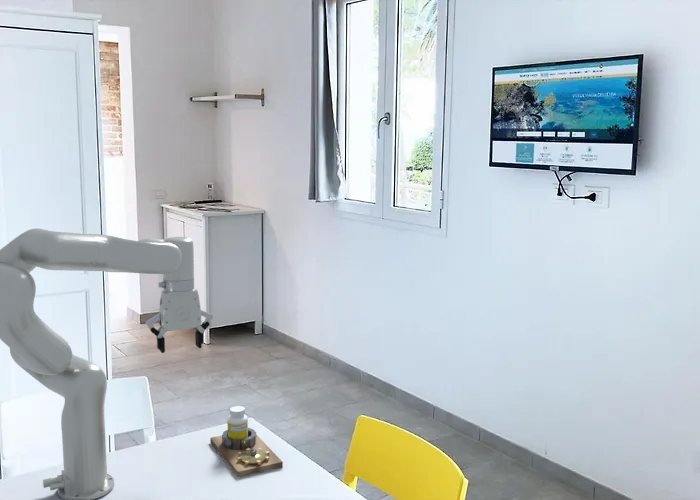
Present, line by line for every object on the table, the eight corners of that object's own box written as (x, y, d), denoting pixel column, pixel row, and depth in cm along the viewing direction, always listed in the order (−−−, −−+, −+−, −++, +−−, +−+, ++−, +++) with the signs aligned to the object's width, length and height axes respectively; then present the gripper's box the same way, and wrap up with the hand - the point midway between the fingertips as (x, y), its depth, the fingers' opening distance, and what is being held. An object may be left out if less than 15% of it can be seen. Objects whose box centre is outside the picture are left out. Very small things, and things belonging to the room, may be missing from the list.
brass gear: (243, 468, 177) (243, 461, 177) (232, 455, 184) (232, 447, 184) (274, 461, 181) (274, 454, 181) (262, 448, 188) (262, 441, 188)
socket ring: (229, 452, 186) (228, 443, 185) (218, 439, 193) (218, 430, 193) (260, 445, 190) (260, 437, 190) (249, 433, 198) (248, 424, 197)
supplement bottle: (232, 437, 195) (231, 404, 193) (250, 439, 194) (250, 405, 192) (224, 446, 189) (224, 411, 188) (243, 448, 188) (243, 413, 187)
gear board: (238, 477, 176) (237, 471, 175) (210, 442, 195) (210, 437, 194) (282, 467, 181) (282, 461, 181) (251, 434, 200) (251, 429, 200)
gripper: (148, 291, 175) (150, 357, 178) (216, 285, 183) (217, 348, 186) (141, 285, 182) (143, 349, 184) (207, 279, 190) (208, 341, 193)
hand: (180, 349), depth 185 cm, fingers open, 9 cm apart
